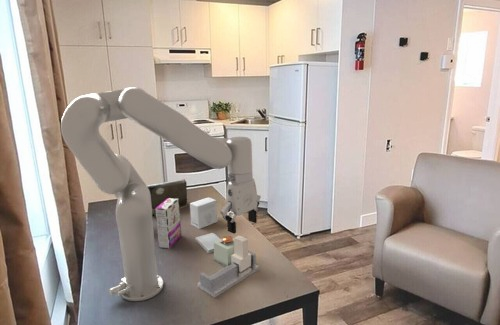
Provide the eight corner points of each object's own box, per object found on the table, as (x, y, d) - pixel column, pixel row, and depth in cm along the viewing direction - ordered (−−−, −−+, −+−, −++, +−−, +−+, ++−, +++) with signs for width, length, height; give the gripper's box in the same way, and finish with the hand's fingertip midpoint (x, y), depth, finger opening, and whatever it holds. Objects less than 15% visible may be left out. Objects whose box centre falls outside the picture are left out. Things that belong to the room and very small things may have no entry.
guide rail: (214, 297, 96) (214, 282, 95) (197, 286, 101) (196, 271, 100) (259, 269, 110) (259, 255, 109) (242, 260, 116) (241, 247, 114)
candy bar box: (170, 234, 135) (167, 197, 131) (181, 235, 134) (179, 198, 130) (157, 248, 125) (154, 208, 121) (170, 249, 124) (167, 209, 120)
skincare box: (209, 217, 152) (208, 196, 149) (218, 221, 147) (217, 200, 145) (190, 224, 145) (189, 202, 142) (199, 229, 140) (198, 206, 137)
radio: (186, 201, 171) (184, 174, 168) (193, 206, 165) (192, 178, 161) (142, 212, 158) (139, 183, 154) (148, 218, 151) (146, 188, 147)
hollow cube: (227, 267, 111) (227, 249, 110) (214, 260, 116) (213, 242, 114) (242, 259, 116) (241, 241, 115) (228, 252, 121) (228, 235, 119)
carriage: (240, 272, 106) (240, 243, 104) (231, 267, 109) (230, 238, 107) (251, 265, 110) (251, 237, 107) (241, 261, 113) (241, 233, 110)
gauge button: (227, 259, 113) (227, 241, 112) (220, 255, 116) (220, 238, 114) (235, 255, 116) (234, 238, 114) (228, 252, 118) (227, 234, 117)
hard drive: (227, 244, 125) (213, 232, 135) (208, 250, 121) (195, 237, 131) (227, 248, 125) (213, 235, 135) (208, 254, 121) (195, 240, 131)
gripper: (228, 186, 93) (231, 240, 97) (267, 172, 105) (268, 221, 110) (211, 181, 98) (214, 233, 102) (250, 168, 110) (251, 215, 115)
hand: (242, 226), depth 106 cm, fingers open, 9 cm apart
